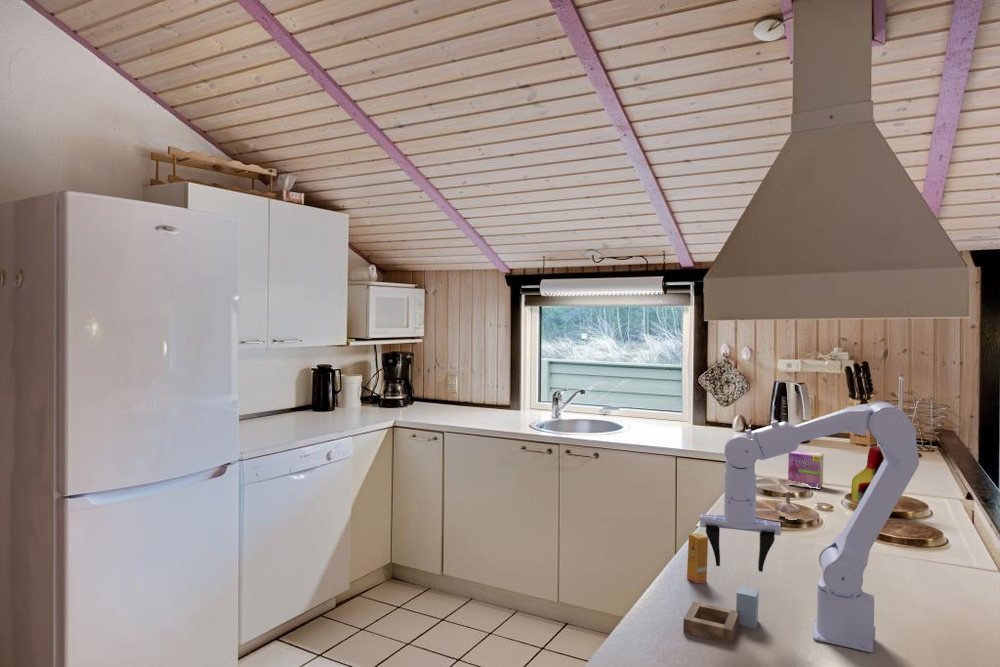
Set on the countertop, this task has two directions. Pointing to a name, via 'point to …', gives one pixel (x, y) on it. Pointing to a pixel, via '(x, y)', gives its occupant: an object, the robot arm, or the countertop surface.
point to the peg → (747, 606)
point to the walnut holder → (711, 622)
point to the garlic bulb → (787, 506)
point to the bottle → (866, 474)
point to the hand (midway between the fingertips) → (739, 566)
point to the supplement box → (697, 558)
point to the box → (806, 468)
